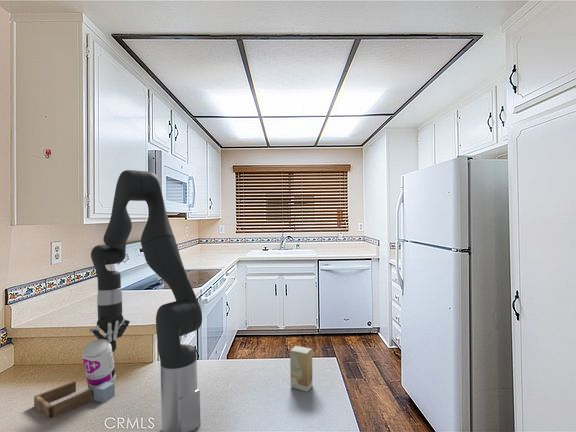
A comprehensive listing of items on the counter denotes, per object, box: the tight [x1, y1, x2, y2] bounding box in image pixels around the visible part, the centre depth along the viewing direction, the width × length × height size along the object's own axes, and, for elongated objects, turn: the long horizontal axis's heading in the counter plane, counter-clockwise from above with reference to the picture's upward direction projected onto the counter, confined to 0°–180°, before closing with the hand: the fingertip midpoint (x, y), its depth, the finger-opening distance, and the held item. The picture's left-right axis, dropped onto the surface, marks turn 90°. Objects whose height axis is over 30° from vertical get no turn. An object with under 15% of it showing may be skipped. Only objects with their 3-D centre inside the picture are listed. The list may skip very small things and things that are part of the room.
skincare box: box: [289, 345, 313, 393], centre depth 103 cm, size 6×4×12 cm
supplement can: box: [82, 338, 117, 392], centre depth 105 cm, size 8×8×15 cm
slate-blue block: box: [93, 382, 116, 403], centre depth 100 cm, size 4×4×4 cm
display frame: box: [33, 380, 92, 420], centre depth 98 cm, size 12×11×3 cm
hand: (111, 351), depth 110 cm, fingers closed
